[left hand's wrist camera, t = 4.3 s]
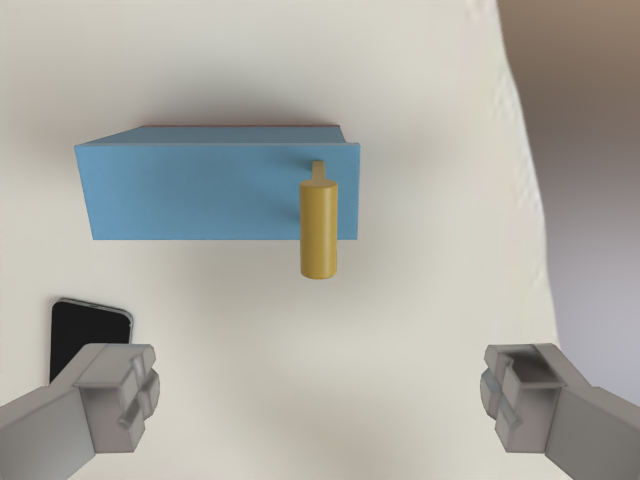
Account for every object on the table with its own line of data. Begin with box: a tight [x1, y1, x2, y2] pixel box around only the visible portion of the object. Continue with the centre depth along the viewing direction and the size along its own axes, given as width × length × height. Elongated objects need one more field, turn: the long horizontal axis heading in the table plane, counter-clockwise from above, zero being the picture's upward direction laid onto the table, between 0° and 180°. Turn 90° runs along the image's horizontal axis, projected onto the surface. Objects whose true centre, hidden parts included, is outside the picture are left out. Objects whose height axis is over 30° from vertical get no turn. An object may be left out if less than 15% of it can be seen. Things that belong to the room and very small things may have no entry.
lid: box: [74, 143, 360, 279], centre depth 23 cm, size 16×6×8 cm, turn 90°
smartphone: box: [50, 299, 133, 384], centre depth 42 cm, size 7×1×15 cm
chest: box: [87, 126, 346, 143], centre depth 31 cm, size 16×6×9 cm, turn 90°
